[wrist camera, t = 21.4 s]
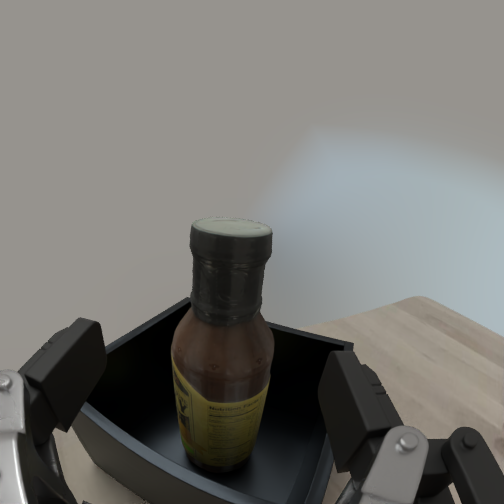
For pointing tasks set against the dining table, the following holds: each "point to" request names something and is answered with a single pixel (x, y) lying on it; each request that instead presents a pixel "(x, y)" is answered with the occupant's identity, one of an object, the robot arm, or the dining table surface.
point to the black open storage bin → (168, 432)
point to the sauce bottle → (223, 344)
